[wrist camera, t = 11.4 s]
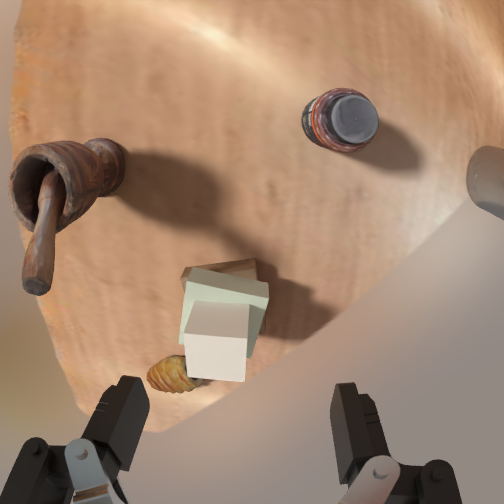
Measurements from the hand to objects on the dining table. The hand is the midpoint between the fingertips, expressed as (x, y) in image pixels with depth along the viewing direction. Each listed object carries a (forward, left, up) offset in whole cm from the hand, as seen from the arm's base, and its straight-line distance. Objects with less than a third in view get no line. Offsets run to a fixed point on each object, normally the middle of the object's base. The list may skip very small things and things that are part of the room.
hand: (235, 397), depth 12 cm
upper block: (+3, +11, -24) cm, 27 cm away
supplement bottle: (-8, -11, -27) cm, 30 cm away
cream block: (+3, +11, -20) cm, 23 cm away
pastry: (+12, +26, -27) cm, 40 cm away
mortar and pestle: (+18, -5, -27) cm, 33 cm away
